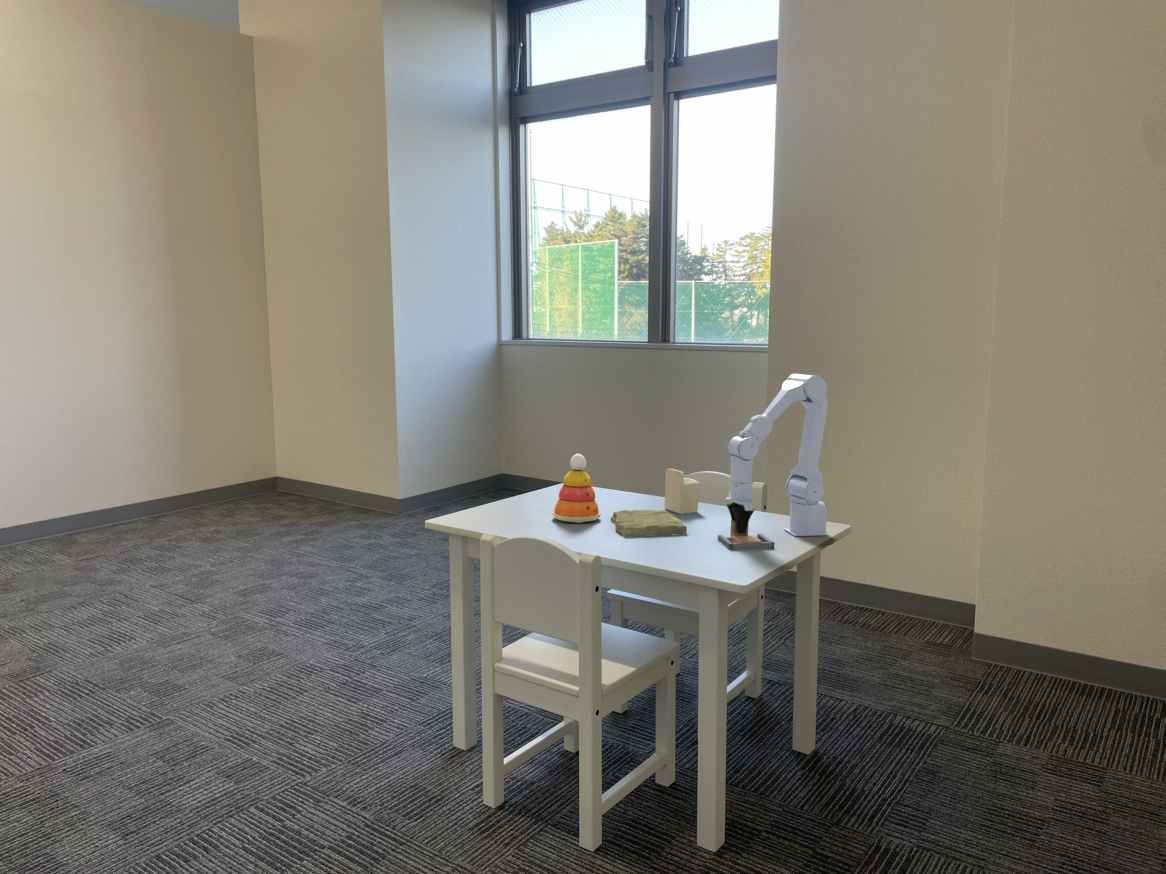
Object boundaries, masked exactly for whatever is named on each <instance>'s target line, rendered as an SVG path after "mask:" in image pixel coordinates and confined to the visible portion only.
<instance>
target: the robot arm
mask: <svg viewBox="0 0 1166 874" xmlns="http://www.w3.org/2000/svg"><path fill="white" fill-rule="evenodd" d="M827 390H828V384H827V383H826V381H825V380H824V379H823V378H822V376H820V375H817V374H801V373H799V372H798V373H795V372H794V373H792V374H790V375H789V376H788V377H787V379H786V380H785V381H784V382H782V385H781V389H780V391H779V392H778V393H777V394H776V396H775V397H774V398H773V400H772V401H771V402H770V404H769V405H768V407H766V409H765V411H764V412H763V413H762V414H756V415H755V416H752V417H750V419H749V420H750V422H749V423H748V424H747V425H746V426H745V428H744V429H743V430H740V431H739V433H738V435H736V436H734V437H732V438H731V439H730V440H729V442H728V446H727V445H726V452H727V454H728V455H729V457H730V458H729V461H730V475H729V477H730V480H729V485H730V486H729V492H728V494H727V495H728V497H724V498H725V501H726V502H731V503H727V504H726V507H727V509H728V512H729V514H730V518H731V520H736V529H737V533H746V530H747V526H748V527H749V522H750V519H751V517H752V515H753V514H754V512H755V508H754V503H753V498H752V495H753V494H752V493H753V492H752V491H753V490H752V489H753V466H754V465H753V463H754V457H756V456H758V452H759V447H760V445H761V443H763V441H764V440H765V439H766V438H767V436H768V435H769V434H770V433H771V431H772V430H773V428H774V426H773V422H774V421H776V420H777V419H778V418H779V416H780V415H781V414H783V412H785V410H786V409H787V408H788V407H790V405H791V404H792V403H795V402H800V403H801V405H802V406H803V407H804V408H805V416H804V422H803V427H802V434H801V440H800V446H799V447H800V448H799V452H798V453H799V454H798V460H797V464H796V465H795V467H794V468H792V469H791V470H790V474H789V477H788V478H787V480H786V483H785V492H786V494H787V495H788V496H789V500H790V508H789V511H790V512H789V527H784V528H783V530H784V531H786V532H787V533H789V534H791V535H792V536H794V537H808V536H809V537H811V536H828V533H827V518H828V516H827V515H828V514H827V513H828V511H827V506H826V503H825V502H824V501H821V499H822V498H823V496H824V494H825V493H824V491H825V487H824V485H823V481H824V476H823V475H822V473H821V471H820V470H819V461H820V456H821V451H822V444H823V438H824V437H823V436H824V431H825V425H826V418H827V415H828V407H829V406H828V405H829V402H828V398H827Z"/></svg>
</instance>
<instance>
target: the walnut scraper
mask: <svg viewBox="0 0 1166 874" xmlns="http://www.w3.org/2000/svg"><path fill="white" fill-rule="evenodd" d="M732 536H749V525H748V526H747V530H746V533H737V529H736V520H732V519H731V520H730V535H729V536H725V538H726V539H728V540H729V541H730V542H731V543H732ZM754 536H755V537H756V538H757V535H754Z"/></svg>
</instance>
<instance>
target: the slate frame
mask: <svg viewBox="0 0 1166 874" xmlns="http://www.w3.org/2000/svg"><path fill="white" fill-rule="evenodd" d="M756 538H758V539H759V540H761V542H751V543H732V542H730V541H729V540H728V539H726V536H724V535H723V534H717V542H719V543H720V542H721V543H722V544H721V543H720V544H721V545H723V546H724V547H725V546H726V547H727V548H726V547H725V548H726V549H728V550H729V551H736V550H737V551H740V550H771V549H772V550H773V549H775V542H774V541H773V540H771V539H770V538H768V537H767V536H765V535H764V534H762V533H757V534H756Z"/></svg>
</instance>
